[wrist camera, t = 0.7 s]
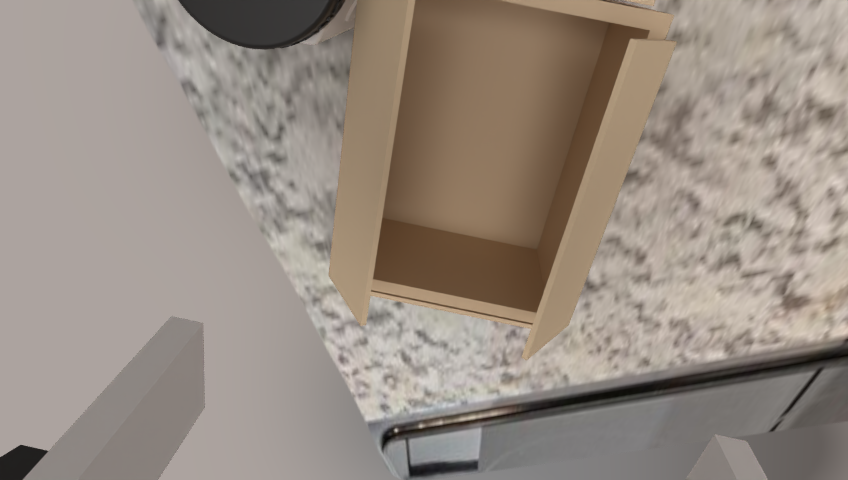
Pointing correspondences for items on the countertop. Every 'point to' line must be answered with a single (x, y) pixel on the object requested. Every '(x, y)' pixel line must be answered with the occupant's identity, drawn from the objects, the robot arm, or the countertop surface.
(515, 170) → the carton
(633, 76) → the flap
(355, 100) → the flap
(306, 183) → the countertop surface
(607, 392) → the countertop surface
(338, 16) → the jar
